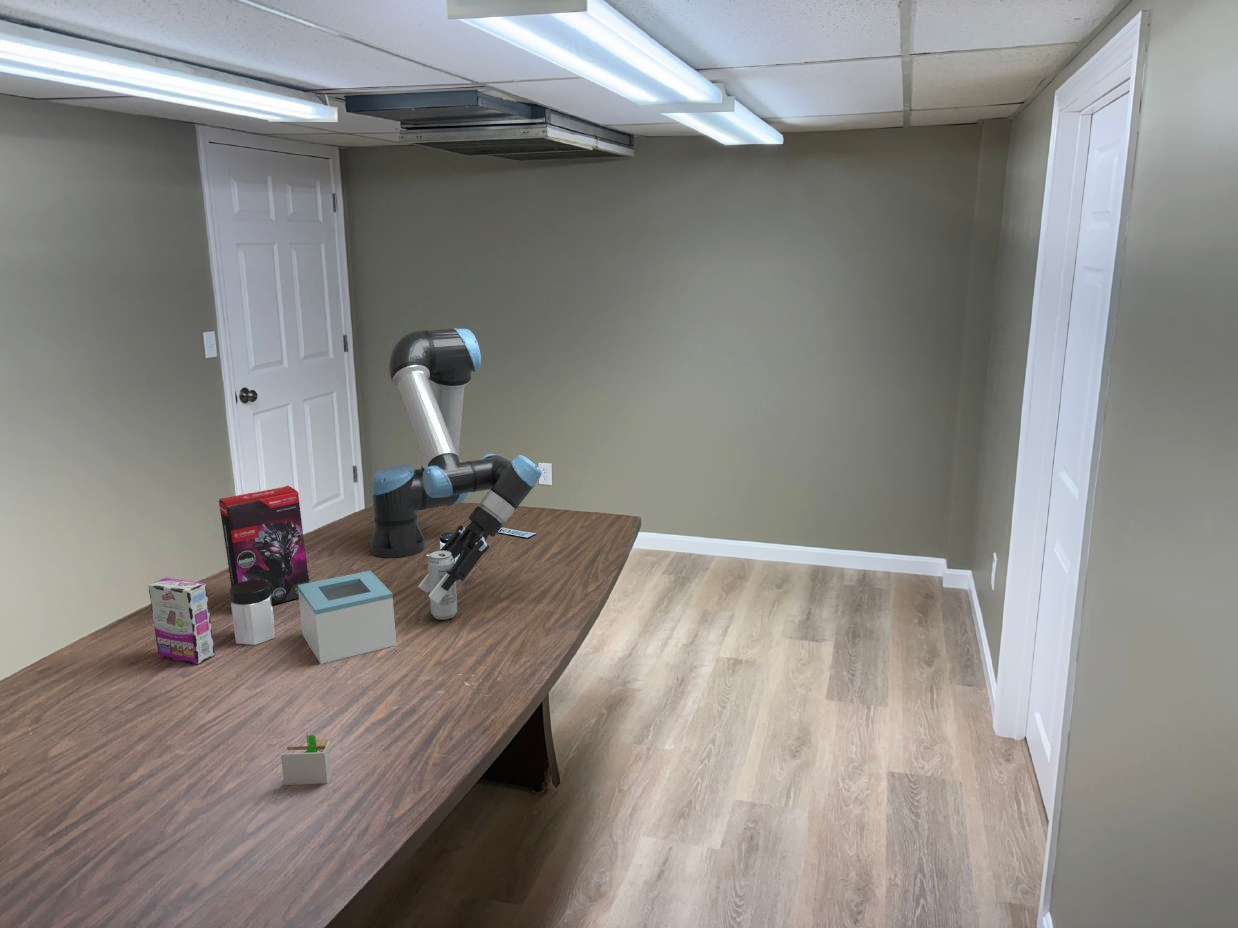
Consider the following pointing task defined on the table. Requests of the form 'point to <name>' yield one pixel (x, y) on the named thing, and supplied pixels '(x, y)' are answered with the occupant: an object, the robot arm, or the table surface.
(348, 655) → the recycling box
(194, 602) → the candy bar box
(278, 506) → the graphics card box
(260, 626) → the jar
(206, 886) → the table surface
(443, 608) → the energy drink can
